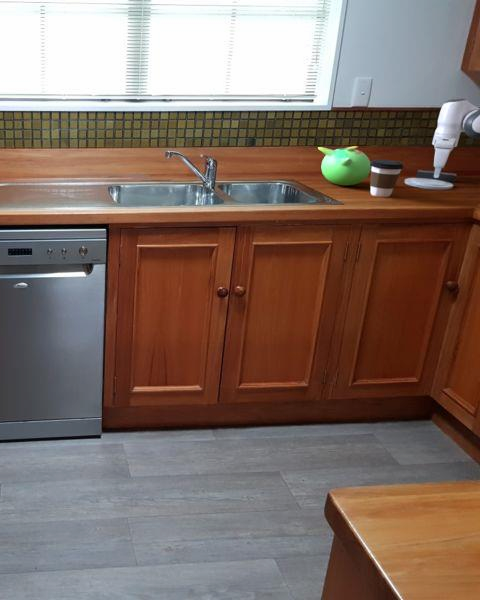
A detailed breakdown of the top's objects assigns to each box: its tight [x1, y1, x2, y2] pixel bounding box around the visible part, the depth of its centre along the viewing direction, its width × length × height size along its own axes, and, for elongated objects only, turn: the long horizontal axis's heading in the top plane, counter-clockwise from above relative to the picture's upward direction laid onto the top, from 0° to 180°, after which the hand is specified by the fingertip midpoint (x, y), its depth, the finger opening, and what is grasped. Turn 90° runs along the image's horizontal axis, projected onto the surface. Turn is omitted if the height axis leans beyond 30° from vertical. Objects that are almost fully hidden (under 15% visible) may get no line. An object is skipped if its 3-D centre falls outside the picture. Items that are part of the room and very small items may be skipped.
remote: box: [415, 169, 458, 183], centre depth 249 cm, size 14×4×3 cm, turn 59°
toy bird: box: [317, 145, 372, 187], centre depth 232 cm, size 18×17×15 cm
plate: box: [404, 177, 454, 191], centre depth 239 cm, size 17×17×1 cm
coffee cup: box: [369, 158, 405, 198], centre depth 218 cm, size 11×11×12 cm
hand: (436, 175), depth 249 cm, fingers open, 8 cm apart
